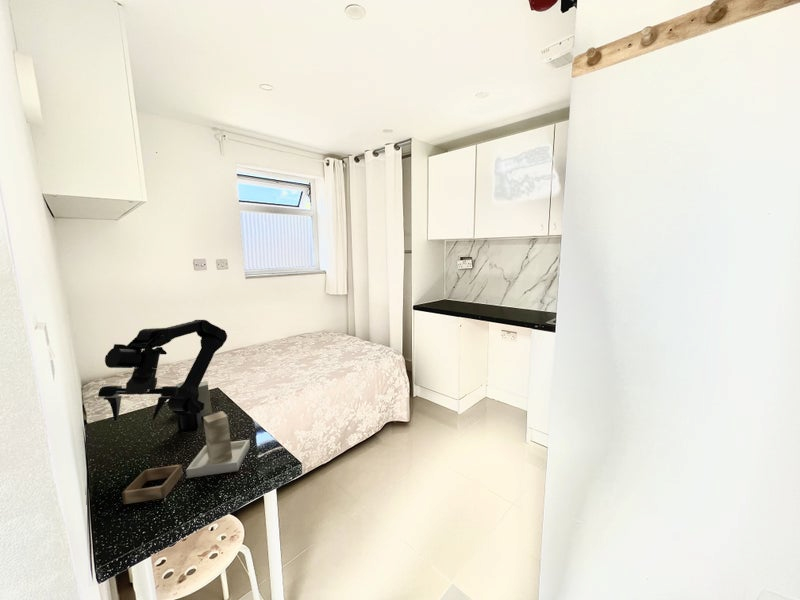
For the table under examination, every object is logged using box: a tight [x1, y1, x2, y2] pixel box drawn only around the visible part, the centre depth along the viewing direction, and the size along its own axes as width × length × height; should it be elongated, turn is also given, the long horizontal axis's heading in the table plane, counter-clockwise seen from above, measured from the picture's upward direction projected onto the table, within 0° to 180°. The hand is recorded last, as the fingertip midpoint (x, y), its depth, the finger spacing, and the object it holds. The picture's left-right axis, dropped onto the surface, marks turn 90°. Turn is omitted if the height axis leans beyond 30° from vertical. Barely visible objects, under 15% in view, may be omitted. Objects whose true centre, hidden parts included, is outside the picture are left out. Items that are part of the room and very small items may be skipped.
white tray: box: [185, 439, 251, 479], centre depth 93 cm, size 13×12×2 cm
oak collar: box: [121, 464, 184, 505], centre depth 83 cm, size 9×9×3 cm
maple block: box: [202, 410, 232, 464], centre depth 93 cm, size 5×5×13 cm
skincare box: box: [198, 380, 213, 418], centre depth 126 cm, size 6×4×12 cm
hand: (135, 420), depth 96 cm, fingers open, 9 cm apart
